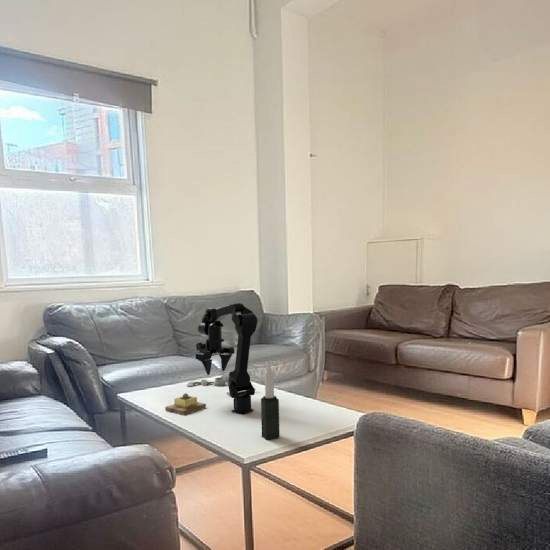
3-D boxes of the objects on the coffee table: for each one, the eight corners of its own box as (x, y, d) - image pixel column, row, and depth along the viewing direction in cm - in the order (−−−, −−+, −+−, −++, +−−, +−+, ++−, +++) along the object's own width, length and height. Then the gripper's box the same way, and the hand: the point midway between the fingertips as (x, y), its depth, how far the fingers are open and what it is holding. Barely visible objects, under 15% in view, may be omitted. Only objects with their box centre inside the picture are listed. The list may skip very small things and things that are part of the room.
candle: (260, 435, 163) (258, 362, 162) (274, 433, 165) (272, 360, 165) (266, 440, 158) (264, 364, 158) (280, 437, 160) (278, 363, 160)
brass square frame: (197, 404, 197) (196, 397, 197) (185, 408, 192) (185, 401, 192) (186, 402, 201) (186, 395, 201) (174, 406, 196) (174, 398, 196)
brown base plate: (206, 407, 198) (205, 392, 198) (184, 415, 188) (183, 398, 188) (187, 403, 205) (187, 388, 205) (165, 410, 195) (165, 394, 195)
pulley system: (246, 383, 243) (230, 376, 255) (246, 374, 242) (230, 368, 254) (197, 395, 226) (183, 387, 238) (197, 385, 226) (183, 378, 238)
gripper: (216, 333, 220) (217, 367, 220) (185, 338, 205) (186, 374, 205) (234, 334, 213) (235, 369, 214) (204, 340, 198) (205, 378, 199)
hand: (215, 372), depth 208 cm, fingers open, 9 cm apart
